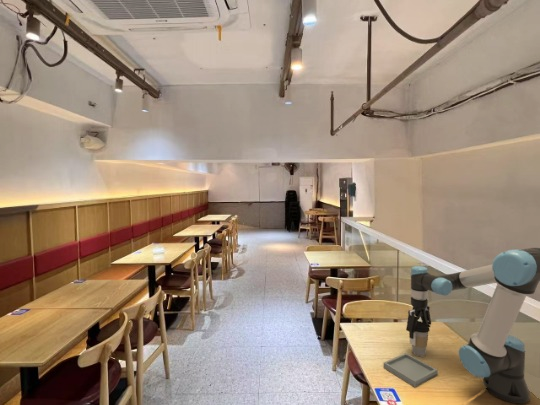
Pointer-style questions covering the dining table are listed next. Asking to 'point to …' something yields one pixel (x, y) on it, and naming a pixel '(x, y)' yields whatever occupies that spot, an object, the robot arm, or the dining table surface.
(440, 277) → the robot arm
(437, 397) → the dining table surface
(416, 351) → the coffee cup
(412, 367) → the tray
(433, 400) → the dining table surface
